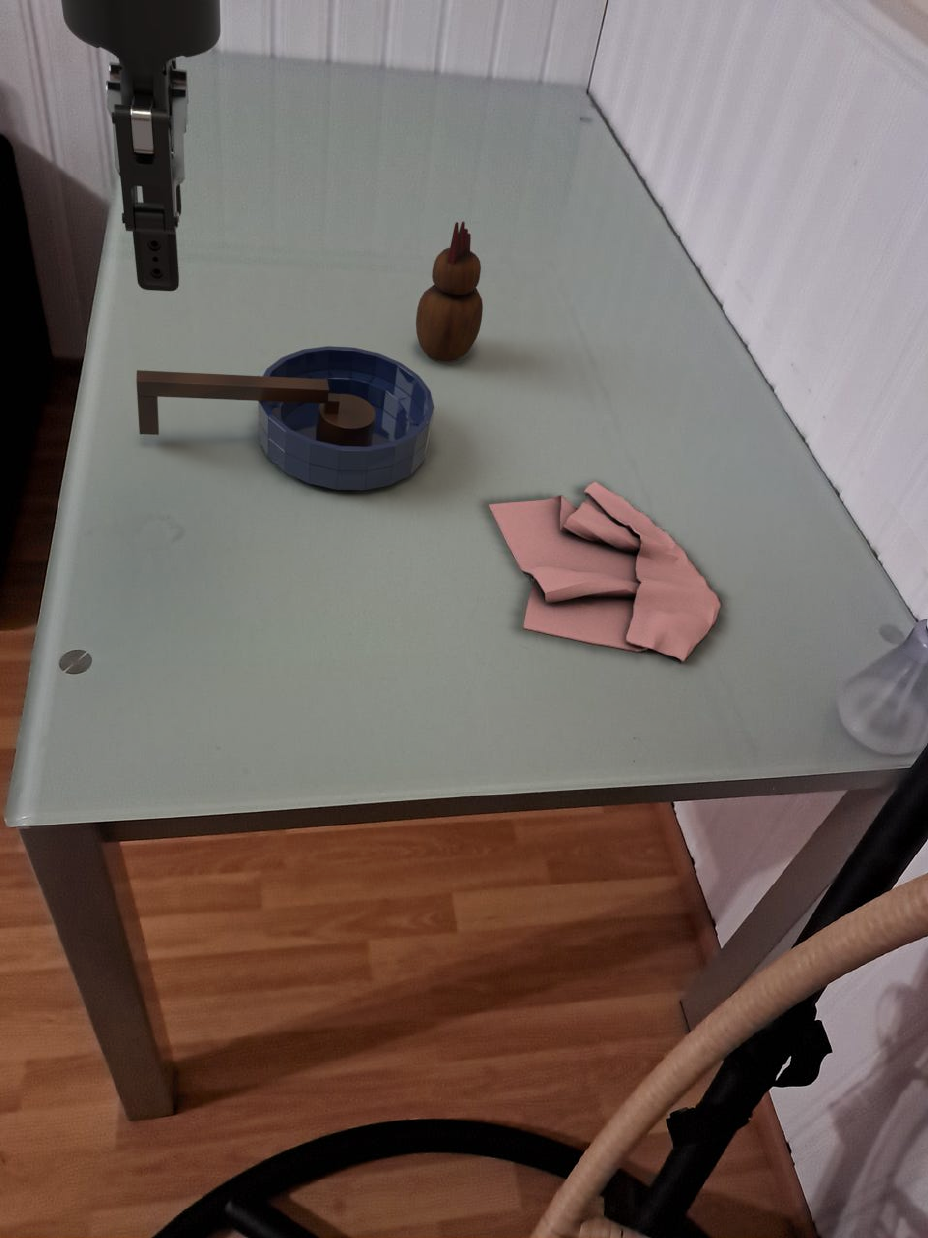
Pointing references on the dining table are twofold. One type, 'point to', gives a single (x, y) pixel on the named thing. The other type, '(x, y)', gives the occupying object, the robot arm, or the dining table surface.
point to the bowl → (363, 375)
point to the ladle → (337, 413)
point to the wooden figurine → (451, 302)
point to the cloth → (607, 575)
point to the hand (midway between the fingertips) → (161, 249)
